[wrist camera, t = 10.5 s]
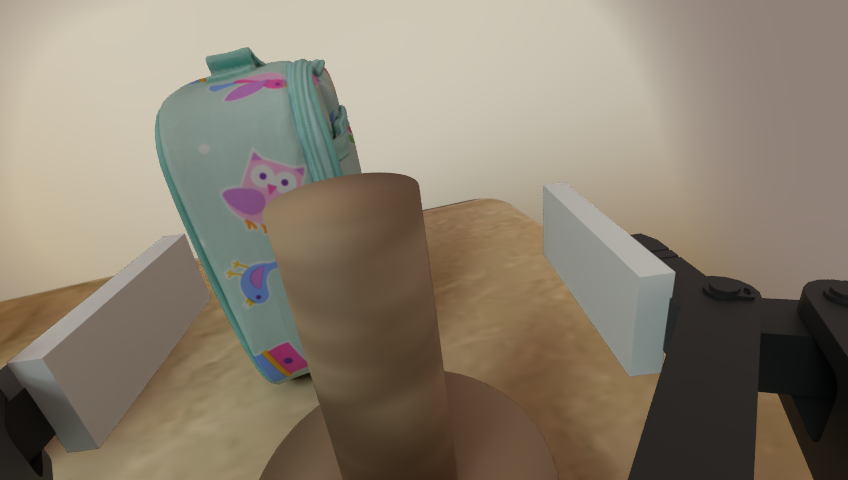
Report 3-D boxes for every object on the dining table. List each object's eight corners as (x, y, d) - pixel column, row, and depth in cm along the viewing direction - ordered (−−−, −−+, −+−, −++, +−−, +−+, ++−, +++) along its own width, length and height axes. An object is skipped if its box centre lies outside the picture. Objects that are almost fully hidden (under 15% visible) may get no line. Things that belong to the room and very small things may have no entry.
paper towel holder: (199, 731, 11) (-94, 373, 6) (294, 404, 21) (215, 168, 16) (622, 675, 11) (684, 268, 6) (515, 375, 21) (505, 129, 16)
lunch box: (413, 393, 28) (348, 26, 19) (250, 434, 26) (95, 59, 17) (371, 236, 52) (334, 43, 43) (285, 254, 50) (228, 58, 41)
